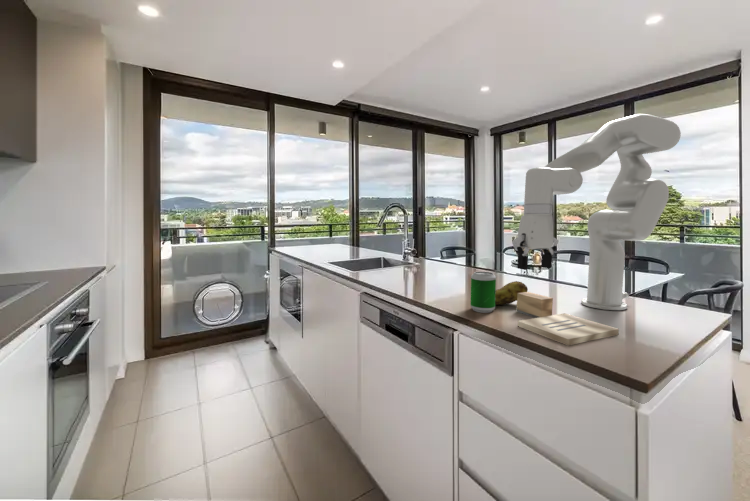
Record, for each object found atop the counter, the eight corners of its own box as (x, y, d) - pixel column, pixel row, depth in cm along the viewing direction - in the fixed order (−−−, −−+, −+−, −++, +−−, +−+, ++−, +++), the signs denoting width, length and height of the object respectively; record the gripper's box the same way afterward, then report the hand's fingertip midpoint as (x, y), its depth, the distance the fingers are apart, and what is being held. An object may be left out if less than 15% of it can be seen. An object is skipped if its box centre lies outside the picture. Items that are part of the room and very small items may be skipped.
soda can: (496, 314, 103) (498, 275, 102) (471, 312, 104) (472, 274, 103) (493, 307, 110) (494, 271, 109) (469, 306, 112) (470, 270, 110)
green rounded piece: (485, 300, 119) (486, 278, 118) (524, 302, 116) (525, 279, 115) (488, 306, 111) (488, 283, 110) (530, 309, 108) (531, 284, 107)
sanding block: (527, 310, 107) (528, 291, 107) (551, 318, 99) (552, 298, 98) (516, 311, 106) (517, 293, 105) (540, 319, 97) (541, 299, 97)
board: (564, 318, 98) (564, 313, 98) (618, 334, 84) (618, 328, 84) (517, 326, 91) (518, 320, 91) (568, 345, 78) (568, 339, 77)
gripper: (548, 211, 106) (544, 265, 107) (505, 210, 99) (502, 267, 101) (569, 211, 99) (566, 268, 101) (525, 210, 92) (522, 271, 94)
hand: (534, 268), depth 101 cm, fingers open, 9 cm apart
